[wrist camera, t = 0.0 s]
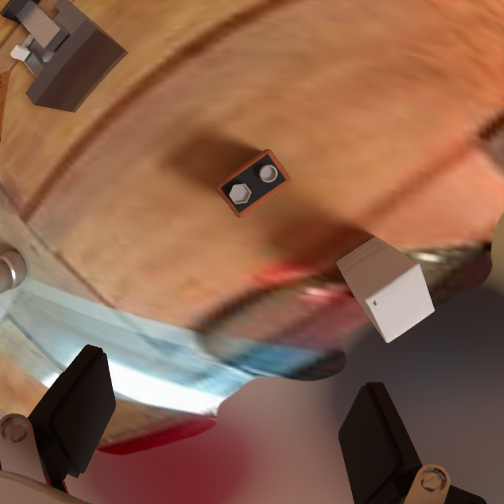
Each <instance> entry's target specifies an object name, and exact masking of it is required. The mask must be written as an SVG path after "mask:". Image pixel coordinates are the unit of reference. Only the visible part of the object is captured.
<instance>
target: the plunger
mask: <svg viewBox="0 0 504 504" xmlns="http://www.w3.org/2000/svg"><path fill="white" fill-rule="evenodd" d="M39 1H40V0H9V2H8V3H7V4H6V5H5V7H4V8H3V9H2V10H1V12H0V14H1V16H3V17H5V18H8V19H10V20H13V21H15V22H17V23H20V24H21V23H22V24H23V25H24V26H25V27H26V29H27V30H28V31H29V32H30V33H31V34H32V35H30V34H29V36H28V37H27V38H26V39H25V41H24V42H23V43H22V45H21V47H24V48H27V47H28V46H29V44H30V43H31V42H32V41H33V39H34V38H35V39H36V40H37V41H38V43H39V44H40V45H41V46H42V47H43V48H44V49H45V50H48V51H50V52H53V51H54V50H55V49H56V47H57V46H58V45H59V44H60V43H61V42H62V40H63V39H64V38H65V37H66V36H67V35H68V33H67V32H66V31H65V30H64V29H63V28H62V27H61V26H60V25H59V24H58V23H57V22H56V21H55V20H54V19H53V18H52V17H51V16H50V15H49V14H48V13H47V12H46V11H44V10H43V9H42V8H41V7H40V6H39V5H38V4H37V3H38V2H39Z"/></svg>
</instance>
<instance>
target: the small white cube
mask: <svg viewBox="0 0 504 504" xmlns="http://www.w3.org/2000/svg"><path fill="white" fill-rule="evenodd" d="M29 53H30V51H29V50H28V49H27V48H24V47H21V46H19V45H16V46H15V48H14V49H13V51H12V52H11V53H10V54H11V56H12V57H13V58H15V59H19V60H22V61H24V60H25V59H26V57H27V56H28V55H29Z"/></svg>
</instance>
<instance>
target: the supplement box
mask: <svg viewBox="0 0 504 504" xmlns="http://www.w3.org/2000/svg"><path fill="white" fill-rule="evenodd" d="M336 264H337V266H338V268H339V270H340V271H341V273H342V275H343V277H344V279H345V281H346V283H347V284H348V286H349V288H350V290H351V292H352V293H353V295H354V297H355V299H356V300H357V301H358V303H359V304H360V305H361V307H362V308H363V310H364V311H365V312H366V314H367V315H368V317H369V318H370V320H371V321H372V323H373V324H374V325H375V327H376V328H377V330H378V331H379V333H380V334H381V335H382V337H383V338H384V340H385V341H386V342H387V343H389V342H390V341H392V340H393V339H395V338H396V337H398V336H399V335H401V334H402V333H404V332H405V331H407V330H408V329H410V328H411V327H413V326H414V325H415V324H417V323H418V322H420V321H421V320H422V319H424V318H425V317H427V316H428V315H429V314H431V313H432V312H434V307H433V304H432V301H431V298H430V295H429V292H428V289H427V286H426V283H425V280H424V277H423V274H422V271H421V268H420V265H419V263H417V262H415V261H413V260H412V259H410V258H409V257H407V256H406V255H404V254H403V253H401V252H400V251H398V250H397V249H395V248H394V247H392V246H391V245H389V244H387V243H386V242H384V241H383V240H381V239H379V238H378V237H376V236H375V237H373V238H372V239H370V240H369V241H367V242H366V243H364V244H363V245H361V246H359V247H358V248H356V249H355V250H353V251H352V252H350V253H349V254H347V255H346V256H344V257H343V258H341V259H339V260H338V261H336Z"/></svg>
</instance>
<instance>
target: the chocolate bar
mask: <svg viewBox="0 0 504 504" xmlns="http://www.w3.org/2000/svg"><path fill="white" fill-rule="evenodd" d="M10 72H11V70H10V71H7V72H5V73H3V74H0V89H1V90H0V142H1V131H2V121H3V113H4V105H5V99H6V93H7V87H8V82H9V77H10Z"/></svg>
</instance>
